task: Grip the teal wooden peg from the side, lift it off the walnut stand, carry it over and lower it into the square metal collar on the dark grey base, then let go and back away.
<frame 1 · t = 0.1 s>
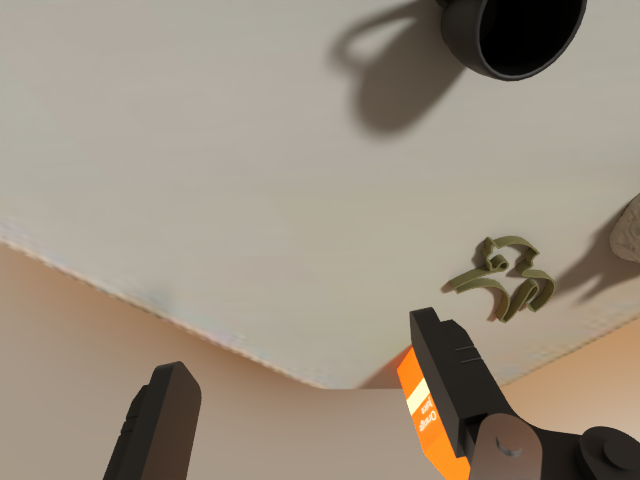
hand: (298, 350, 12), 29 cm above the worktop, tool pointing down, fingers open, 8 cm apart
mug: (453, 5, 31), on the worktop
cookie cutter: (503, 275, 52), on the worktop
orange juice: (424, 356, 62), on the worktop
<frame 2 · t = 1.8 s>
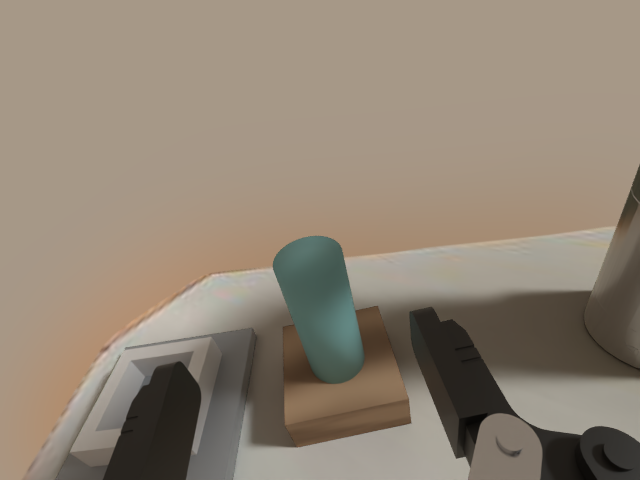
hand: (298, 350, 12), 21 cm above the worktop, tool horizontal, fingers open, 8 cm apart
peg: (337, 357, 31), point 4 cm above the worktop, touching stand
stand: (344, 381, 33), on the worktop
socket base: (170, 411, 34), on the worktop
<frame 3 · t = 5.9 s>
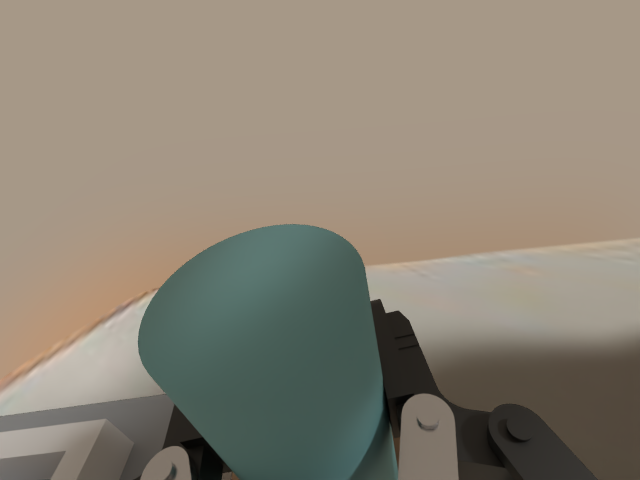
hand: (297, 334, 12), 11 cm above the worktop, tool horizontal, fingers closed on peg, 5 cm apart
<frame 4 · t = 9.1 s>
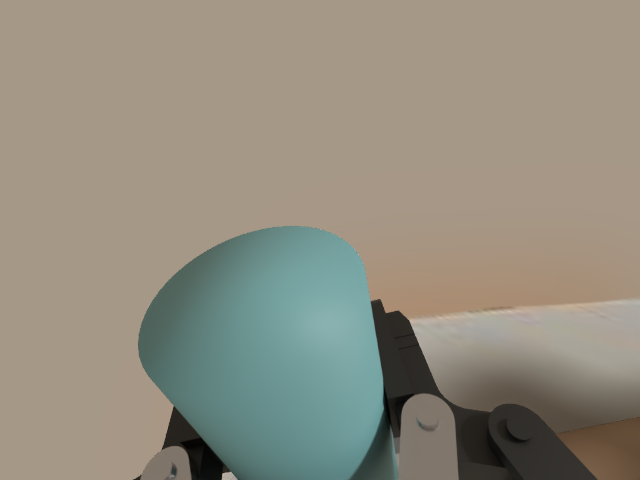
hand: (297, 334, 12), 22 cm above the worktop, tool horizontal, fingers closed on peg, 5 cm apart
when the fingers open (10 cm above the worktop, at t = 12.2 s): peg drops 1 cm, resting on socket base.
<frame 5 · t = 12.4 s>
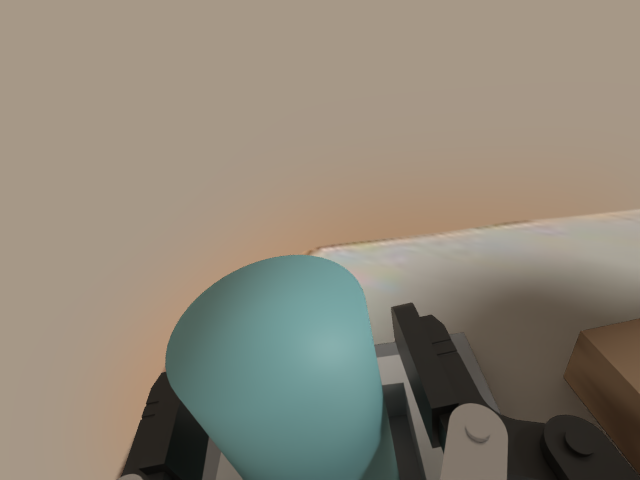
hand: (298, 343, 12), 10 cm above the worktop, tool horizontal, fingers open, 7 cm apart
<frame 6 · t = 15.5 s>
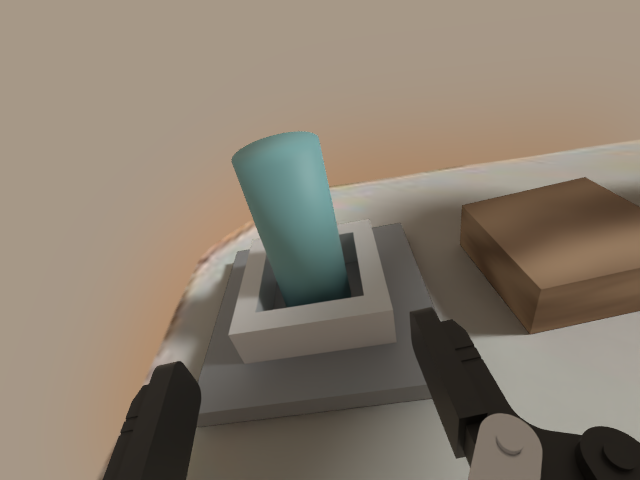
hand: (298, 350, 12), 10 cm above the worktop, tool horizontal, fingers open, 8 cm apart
peg: (318, 298, 26), point 2 cm above the worktop, touching socket base
stand: (555, 267, 25), on the worktop
socket base: (321, 310, 27), on the worktop
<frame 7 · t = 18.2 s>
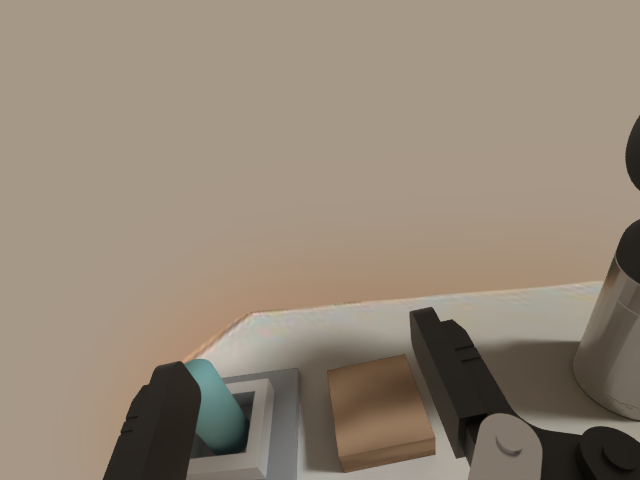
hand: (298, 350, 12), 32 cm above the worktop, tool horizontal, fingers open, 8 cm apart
peg: (231, 435, 41), point 2 cm above the worktop, touching socket base
stand: (378, 417, 40), on the worktop
socket base: (235, 440, 42), on the worktop
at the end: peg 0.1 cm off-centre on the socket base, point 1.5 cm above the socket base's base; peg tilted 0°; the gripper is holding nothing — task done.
